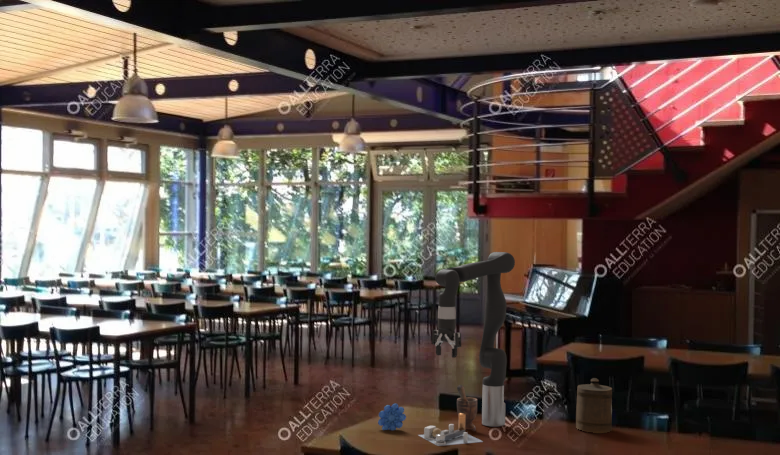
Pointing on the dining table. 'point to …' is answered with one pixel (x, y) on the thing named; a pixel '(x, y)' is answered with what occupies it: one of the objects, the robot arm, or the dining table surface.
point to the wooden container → (594, 407)
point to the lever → (449, 435)
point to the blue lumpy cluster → (391, 417)
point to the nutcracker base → (457, 440)
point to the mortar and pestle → (467, 408)
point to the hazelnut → (436, 432)
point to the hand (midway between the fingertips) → (446, 356)
